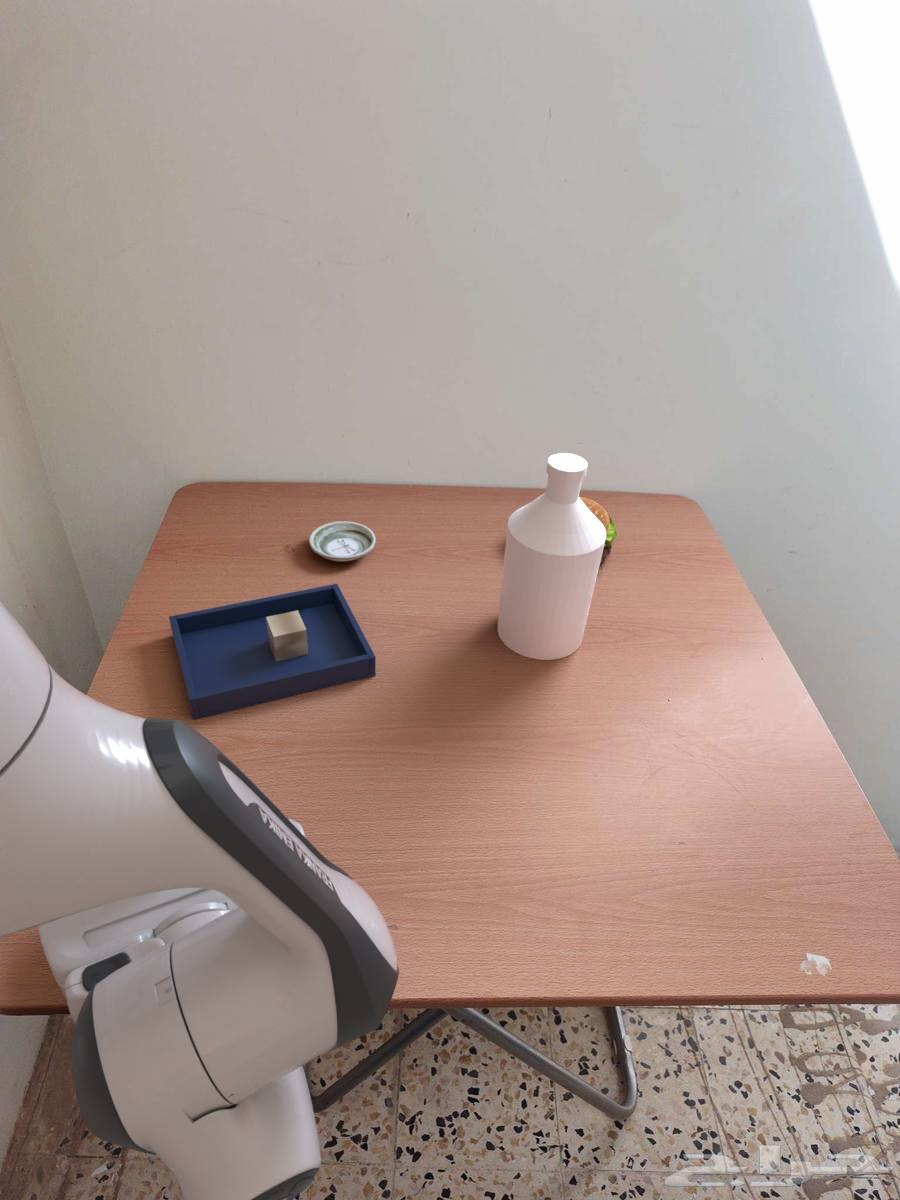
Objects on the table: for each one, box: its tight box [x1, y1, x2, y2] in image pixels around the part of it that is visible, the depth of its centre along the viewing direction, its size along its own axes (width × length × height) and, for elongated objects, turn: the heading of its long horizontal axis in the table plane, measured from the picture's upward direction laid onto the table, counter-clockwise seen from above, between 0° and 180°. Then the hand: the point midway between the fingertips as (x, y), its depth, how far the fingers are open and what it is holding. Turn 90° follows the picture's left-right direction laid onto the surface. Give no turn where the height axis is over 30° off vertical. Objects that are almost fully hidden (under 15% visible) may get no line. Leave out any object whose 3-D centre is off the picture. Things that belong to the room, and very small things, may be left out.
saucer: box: [308, 520, 377, 562], centre depth 117 cm, size 10×10×2 cm
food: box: [579, 496, 618, 563], centre depth 120 cm, size 14×14×8 cm
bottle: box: [496, 452, 606, 661], centre depth 99 cm, size 12×12×25 cm
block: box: [266, 611, 308, 662], centre depth 99 cm, size 4×4×4 cm
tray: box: [168, 583, 376, 721], centre depth 98 cm, size 22×16×3 cm
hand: (165, 823), depth 67 cm, fingers closed on coffee box, 6 cm apart
